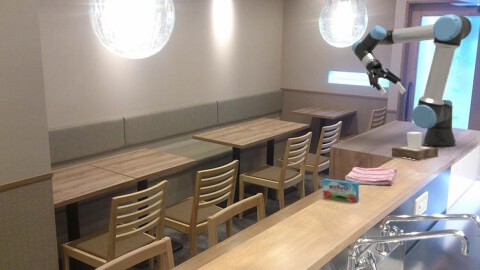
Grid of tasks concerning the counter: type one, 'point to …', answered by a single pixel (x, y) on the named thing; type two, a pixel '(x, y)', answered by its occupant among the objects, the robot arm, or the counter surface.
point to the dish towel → (372, 176)
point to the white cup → (414, 140)
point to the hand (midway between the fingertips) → (394, 93)
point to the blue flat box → (341, 190)
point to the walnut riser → (415, 152)
